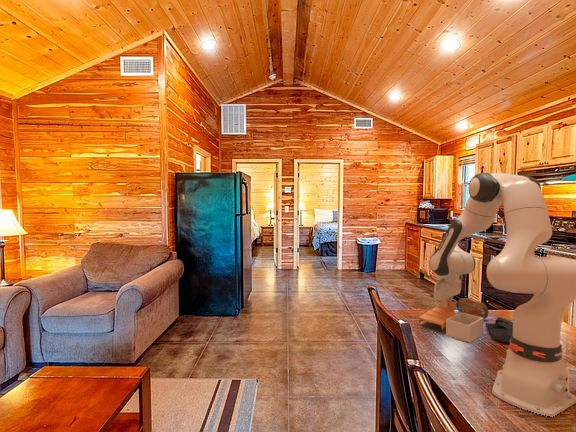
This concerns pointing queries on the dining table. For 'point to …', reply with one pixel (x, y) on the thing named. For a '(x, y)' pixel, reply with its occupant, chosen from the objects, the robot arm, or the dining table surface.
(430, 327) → the mat
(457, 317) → the tub
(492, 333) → the dark slate chunk
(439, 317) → the lid
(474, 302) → the brown arch piece
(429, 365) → the dining table surface
